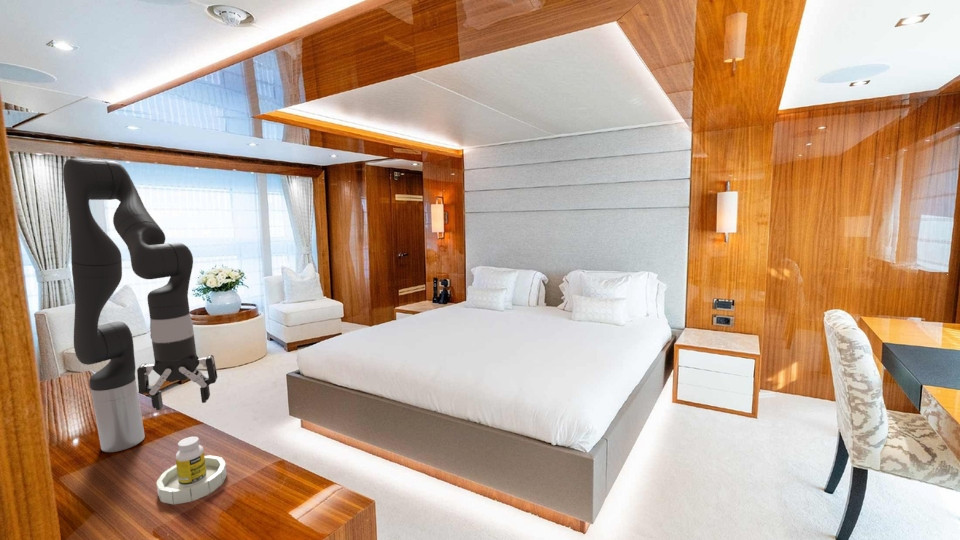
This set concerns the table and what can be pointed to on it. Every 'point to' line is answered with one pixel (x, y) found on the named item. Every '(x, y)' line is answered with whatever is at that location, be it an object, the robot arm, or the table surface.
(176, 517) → the table surface
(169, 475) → the sage bowl
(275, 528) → the table surface
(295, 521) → the table surface
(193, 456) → the supplement bottle
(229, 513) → the table surface
